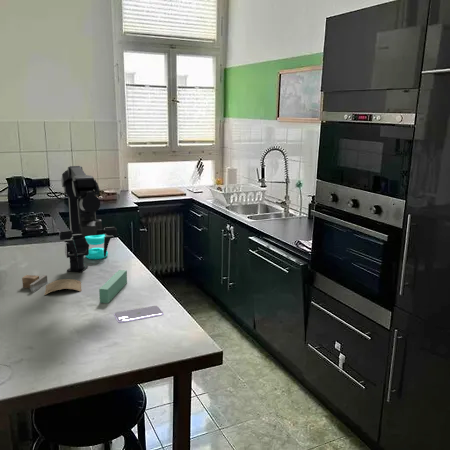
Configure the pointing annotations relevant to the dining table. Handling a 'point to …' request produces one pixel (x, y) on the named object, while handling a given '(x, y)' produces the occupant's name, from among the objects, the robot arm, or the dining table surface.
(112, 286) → the bar
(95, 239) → the donuts
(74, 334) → the dining table surface
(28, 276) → the tan block on bar
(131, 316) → the mobile phone
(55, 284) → the clay tablet
